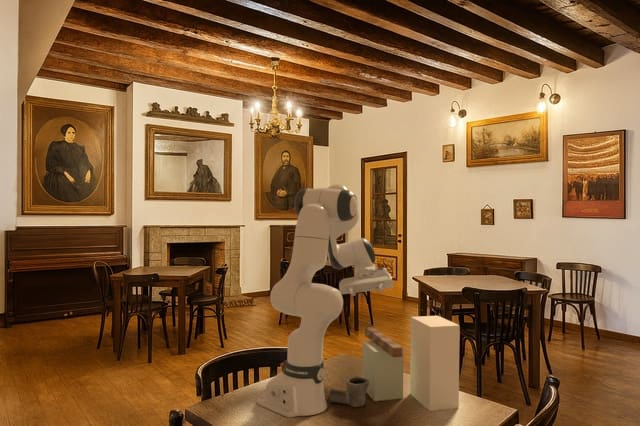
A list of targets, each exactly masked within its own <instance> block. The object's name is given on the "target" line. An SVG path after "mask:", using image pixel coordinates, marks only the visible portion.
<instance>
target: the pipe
mask: <svg viewBox="0 0 640 426" xmlns="http://www.w3.org/2000/svg"><path fill="white" fill-rule="evenodd" d="M345 382H346V390H341V389H340V390H339V389H334V388H330V389H329V394H328V401H329V402H331V403H336V404H344V405H349V406H350V407H355V408H360V407H363V406H364V405H365V404H366V396H367V392H366V391H367V387H368V385H369V381H368V380H367V379H365V378H362V377H359V376H353V377H349V378H348V379H346V380H345Z"/></svg>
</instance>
